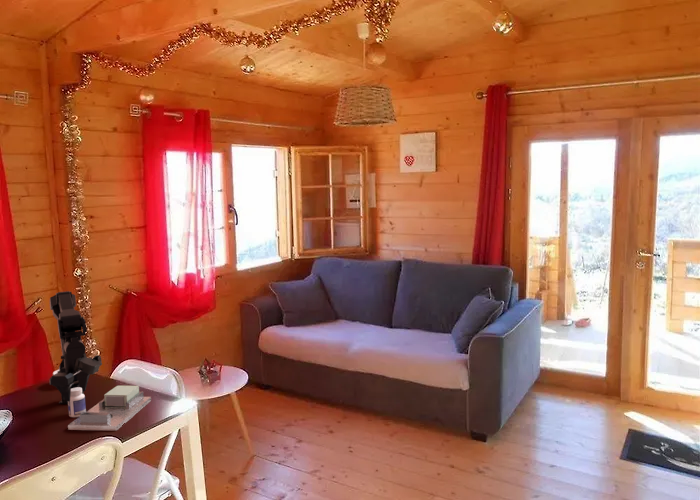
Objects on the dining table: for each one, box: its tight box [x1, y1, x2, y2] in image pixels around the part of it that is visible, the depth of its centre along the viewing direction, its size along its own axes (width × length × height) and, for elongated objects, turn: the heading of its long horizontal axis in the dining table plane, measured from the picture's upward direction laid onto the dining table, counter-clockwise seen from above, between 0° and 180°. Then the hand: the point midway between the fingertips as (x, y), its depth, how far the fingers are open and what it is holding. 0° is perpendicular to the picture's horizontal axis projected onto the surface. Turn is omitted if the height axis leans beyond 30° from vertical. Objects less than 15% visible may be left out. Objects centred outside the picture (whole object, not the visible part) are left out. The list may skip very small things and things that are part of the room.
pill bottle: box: [67, 387, 87, 418], centre depth 190 cm, size 5×5×9 cm
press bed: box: [67, 390, 152, 432], centre depth 190 cm, size 16×25×4 cm, turn 175°
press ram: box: [103, 385, 140, 406], centre depth 197 cm, size 8×10×4 cm
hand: (76, 396), depth 190 cm, fingers open, 9 cm apart
